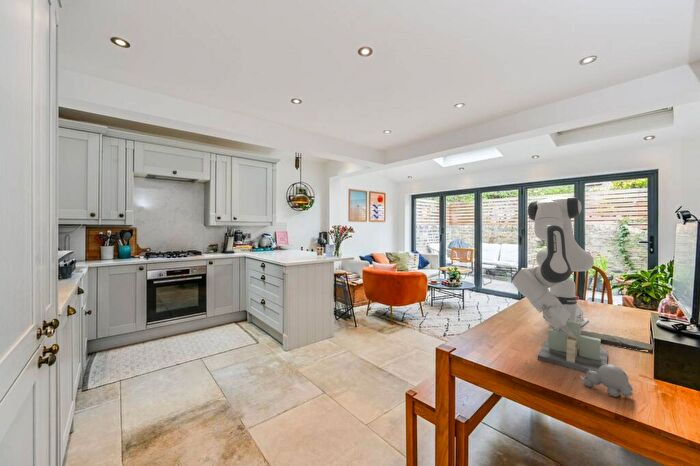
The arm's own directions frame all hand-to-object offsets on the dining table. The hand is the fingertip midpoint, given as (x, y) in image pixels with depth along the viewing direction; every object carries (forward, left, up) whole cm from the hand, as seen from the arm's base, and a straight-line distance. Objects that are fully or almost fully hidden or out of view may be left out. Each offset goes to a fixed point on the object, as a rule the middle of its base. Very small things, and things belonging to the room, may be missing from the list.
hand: (574, 332), depth 115 cm
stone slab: (-32, -3, -11) cm, 34 cm away
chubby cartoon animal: (+18, +17, -10) cm, 27 cm away
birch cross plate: (0, 0, -10) cm, 10 cm away
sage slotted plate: (0, 0, -8) cm, 8 cm away
